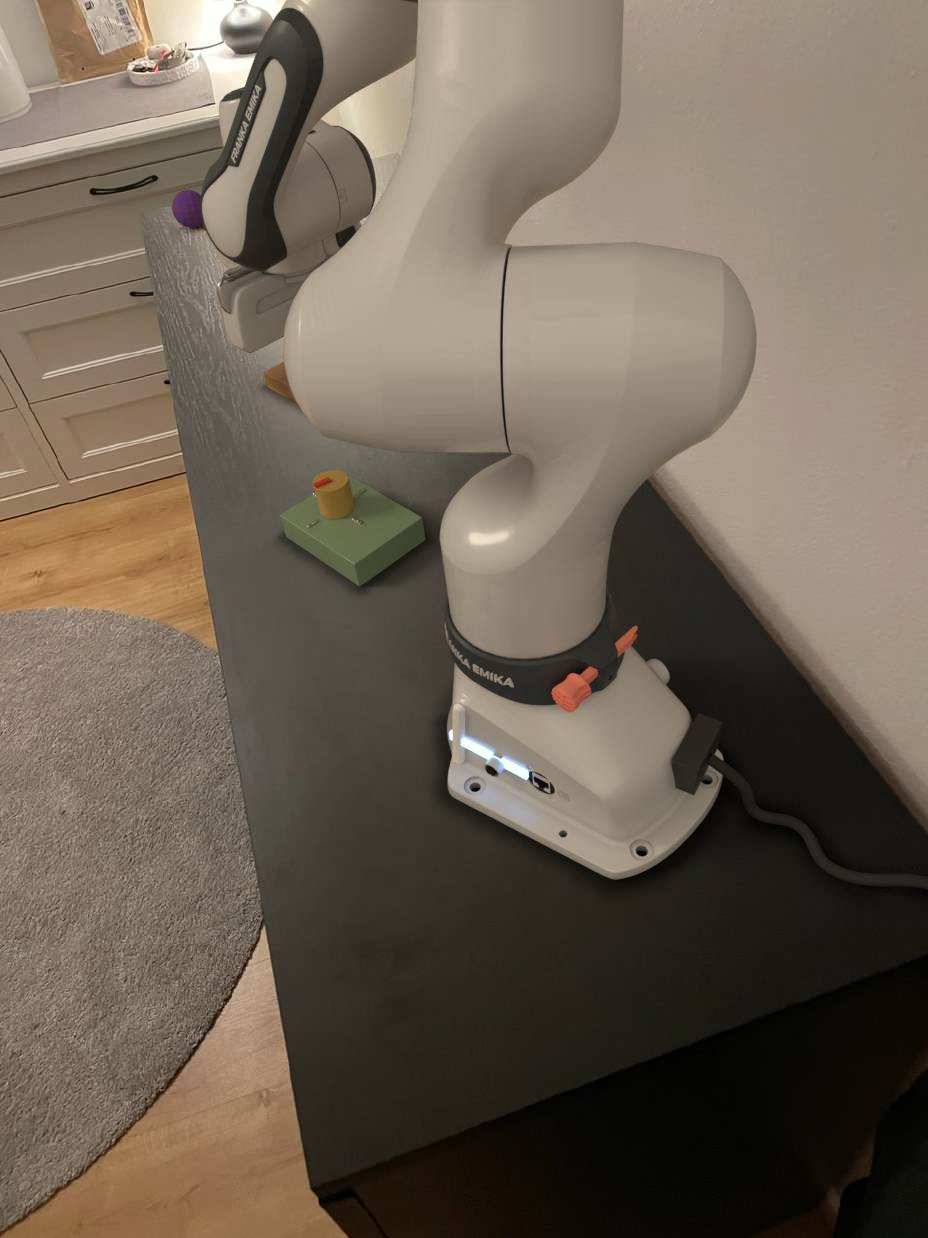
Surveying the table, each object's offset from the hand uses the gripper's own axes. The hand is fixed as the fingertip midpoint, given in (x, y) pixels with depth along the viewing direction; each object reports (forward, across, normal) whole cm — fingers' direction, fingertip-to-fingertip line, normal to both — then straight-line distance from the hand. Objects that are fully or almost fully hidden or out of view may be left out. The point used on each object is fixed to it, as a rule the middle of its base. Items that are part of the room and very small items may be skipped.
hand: (313, 353), depth 111 cm
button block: (+4, 0, 0) cm, 5 cm away
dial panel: (+4, -17, -27) cm, 32 cm away
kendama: (+5, +27, +58) cm, 64 cm away
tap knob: (+1, -17, -25) cm, 30 cm away
